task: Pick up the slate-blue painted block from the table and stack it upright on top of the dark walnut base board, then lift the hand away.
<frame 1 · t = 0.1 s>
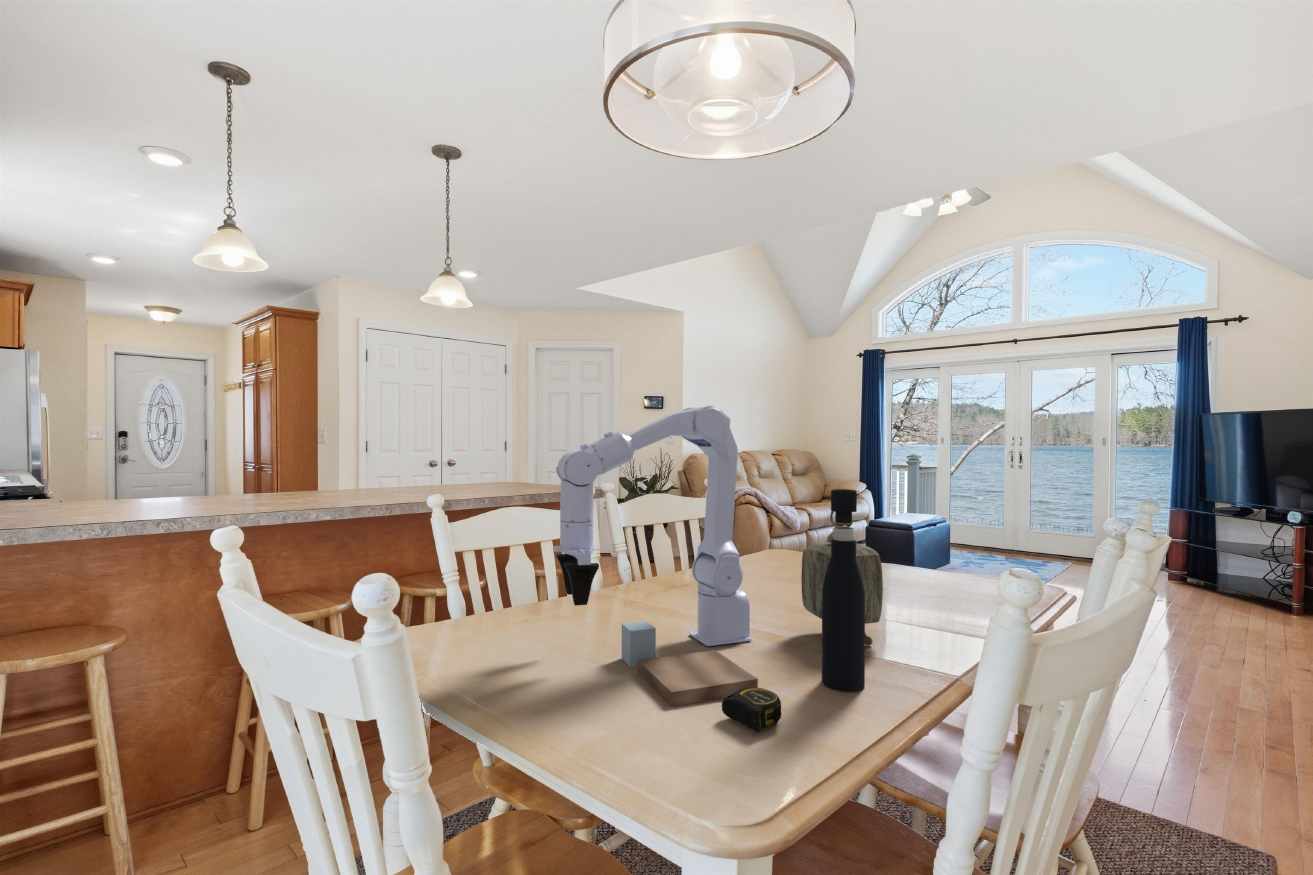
hand: (576, 599, 109), 10 cm above the table, fingers open, 7 cm apart
wine bottle: (843, 685, 98), on the table
tape measure: (753, 727, 84), on the table
slate block: (638, 661, 108), on the table
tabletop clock: (838, 639, 121), on the table
walnut base: (695, 681, 98), on the table
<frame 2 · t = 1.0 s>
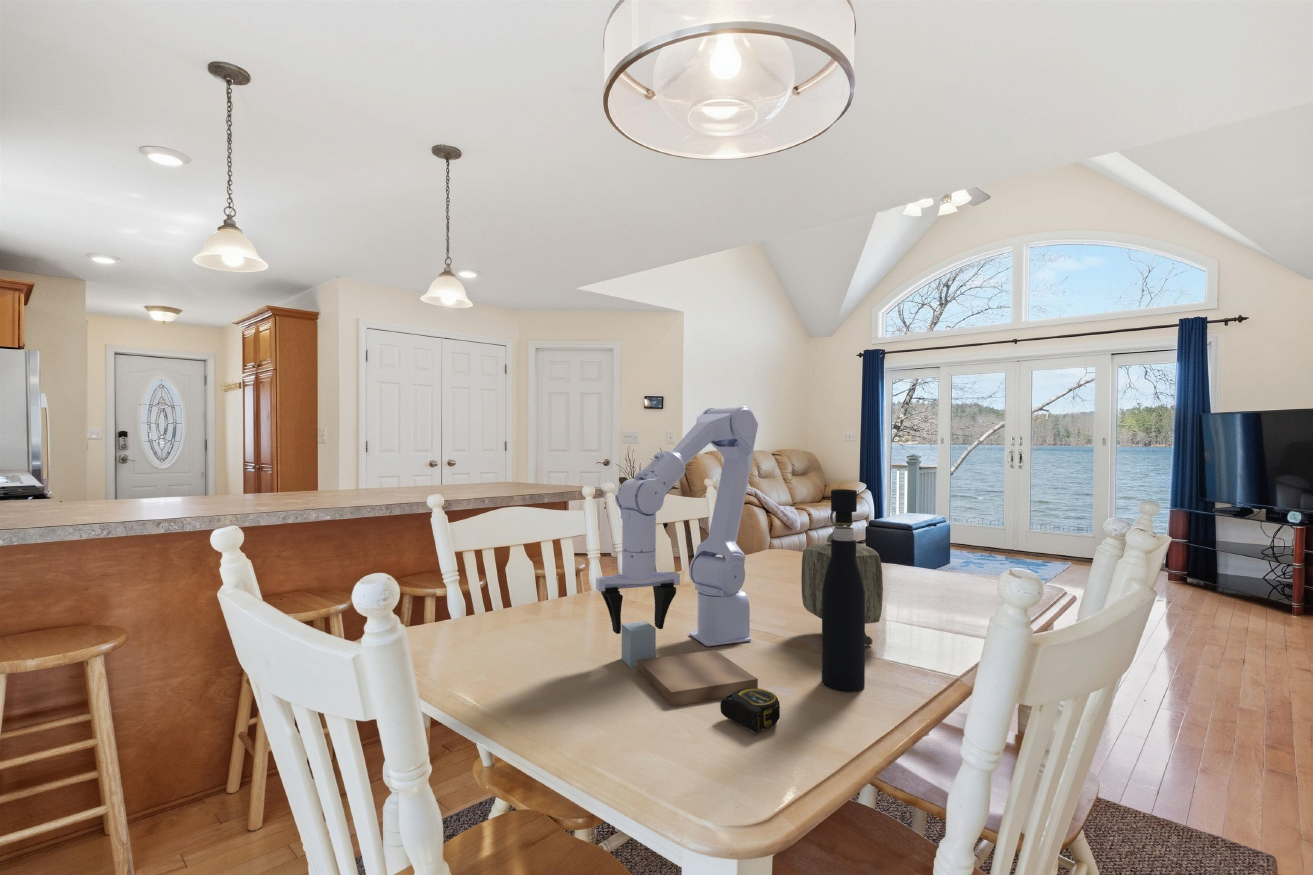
hand: (638, 629, 107), 5 cm above the table, fingers open, 7 cm apart
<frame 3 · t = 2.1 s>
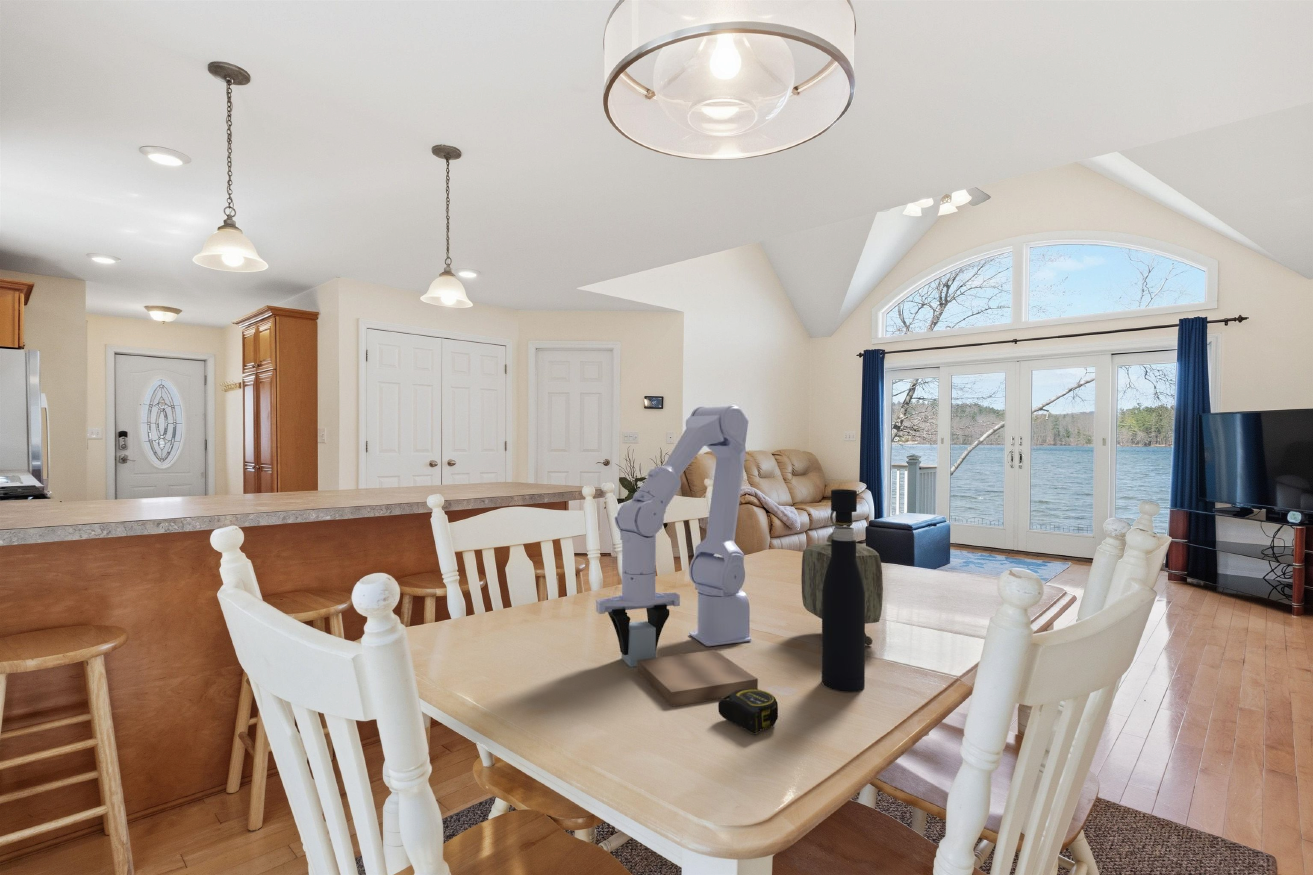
hand: (638, 651, 108), 2 cm above the table, fingers closed on slate block, 4 cm apart
slate block: (638, 660, 108), on the table, touching gripper
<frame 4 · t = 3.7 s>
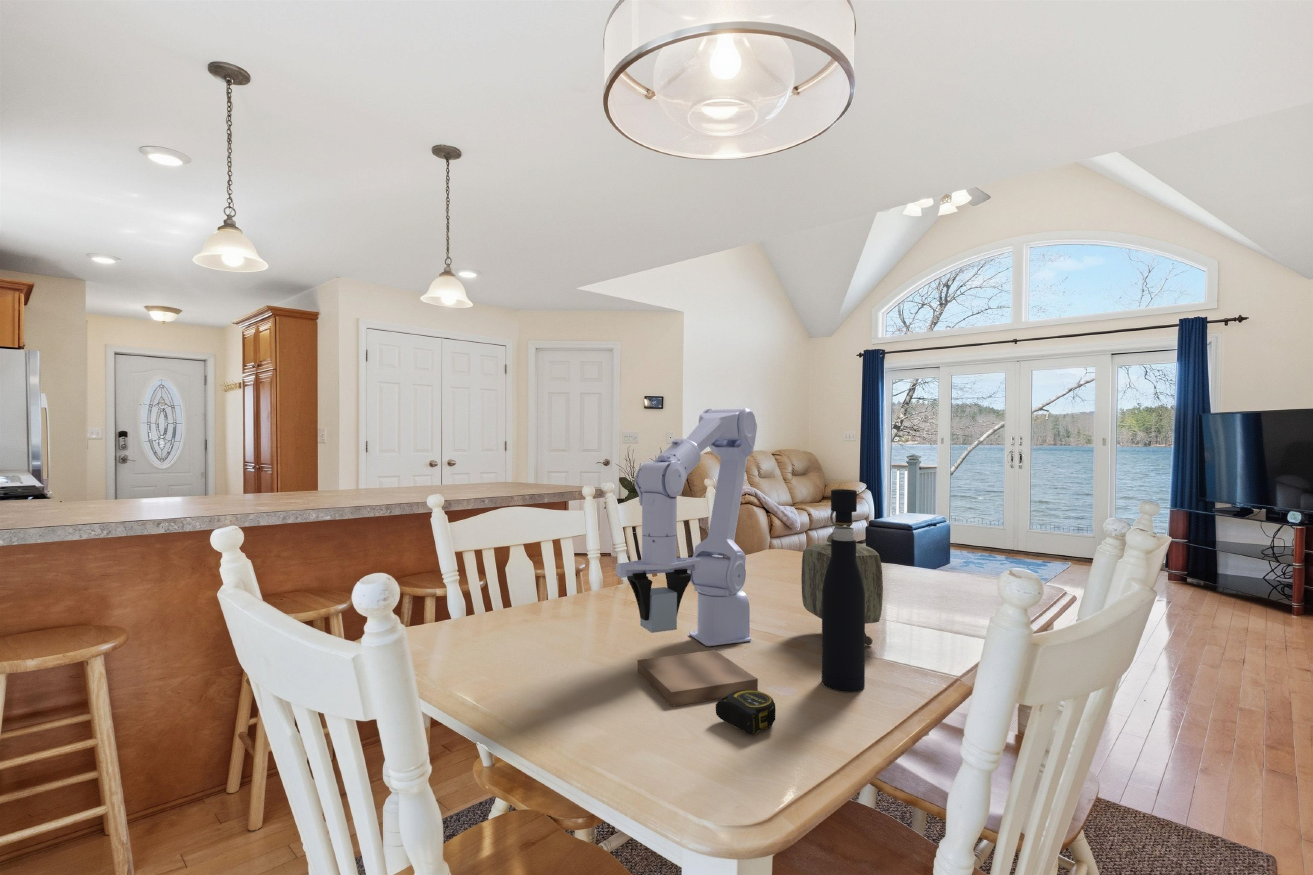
hand: (658, 617, 104), 8 cm above the table, fingers closed on slate block, 4 cm apart
slate block: (658, 627, 104), point 7 cm above the table, touching gripper
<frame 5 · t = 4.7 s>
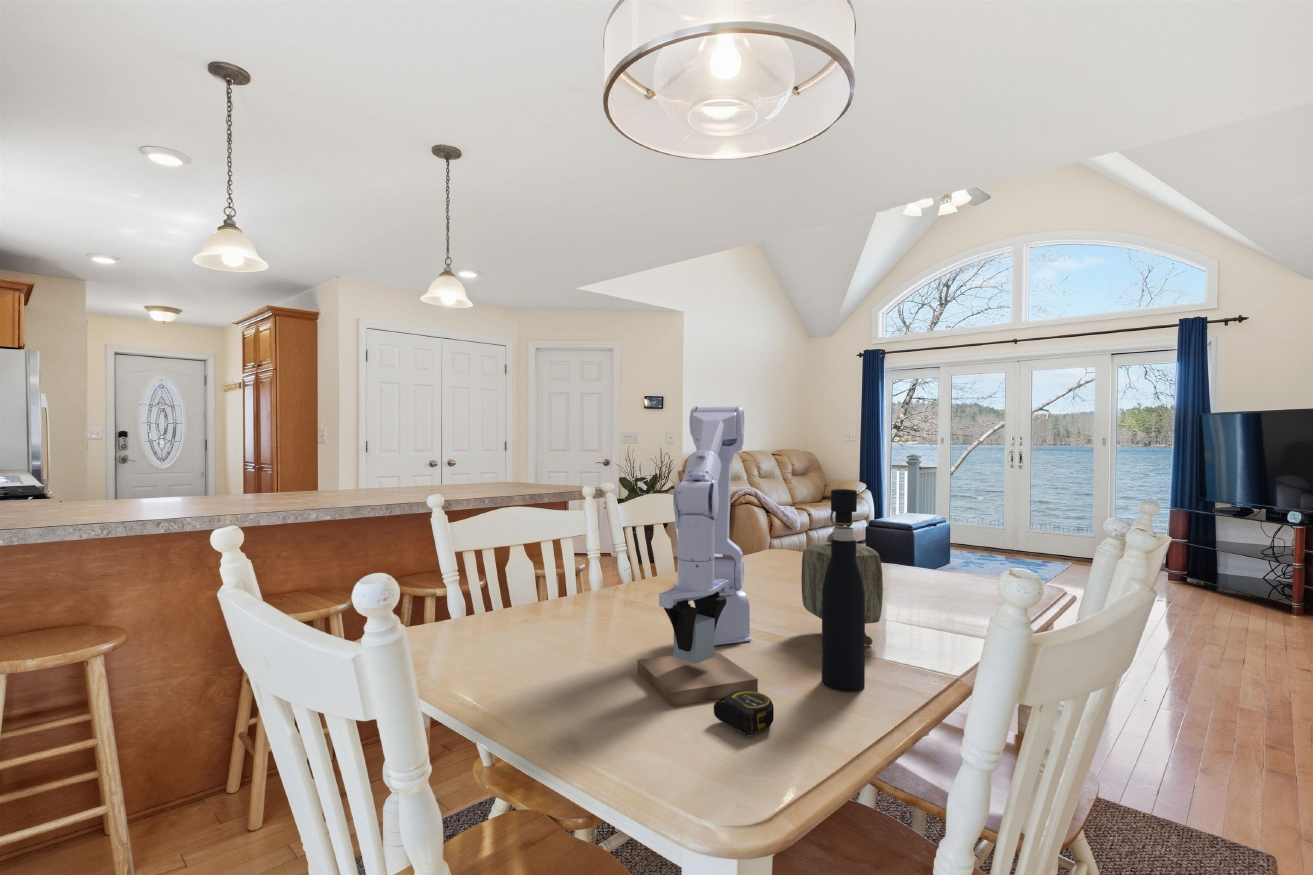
hand: (695, 645, 98), 6 cm above the table, fingers closed on slate block, 4 cm apart
slate block: (694, 656, 98), point 4 cm above the table, touching gripper
when the fingers open (5 cm above the table, at t = 5.3 s): slate block stays where it is, resting on walnut base.
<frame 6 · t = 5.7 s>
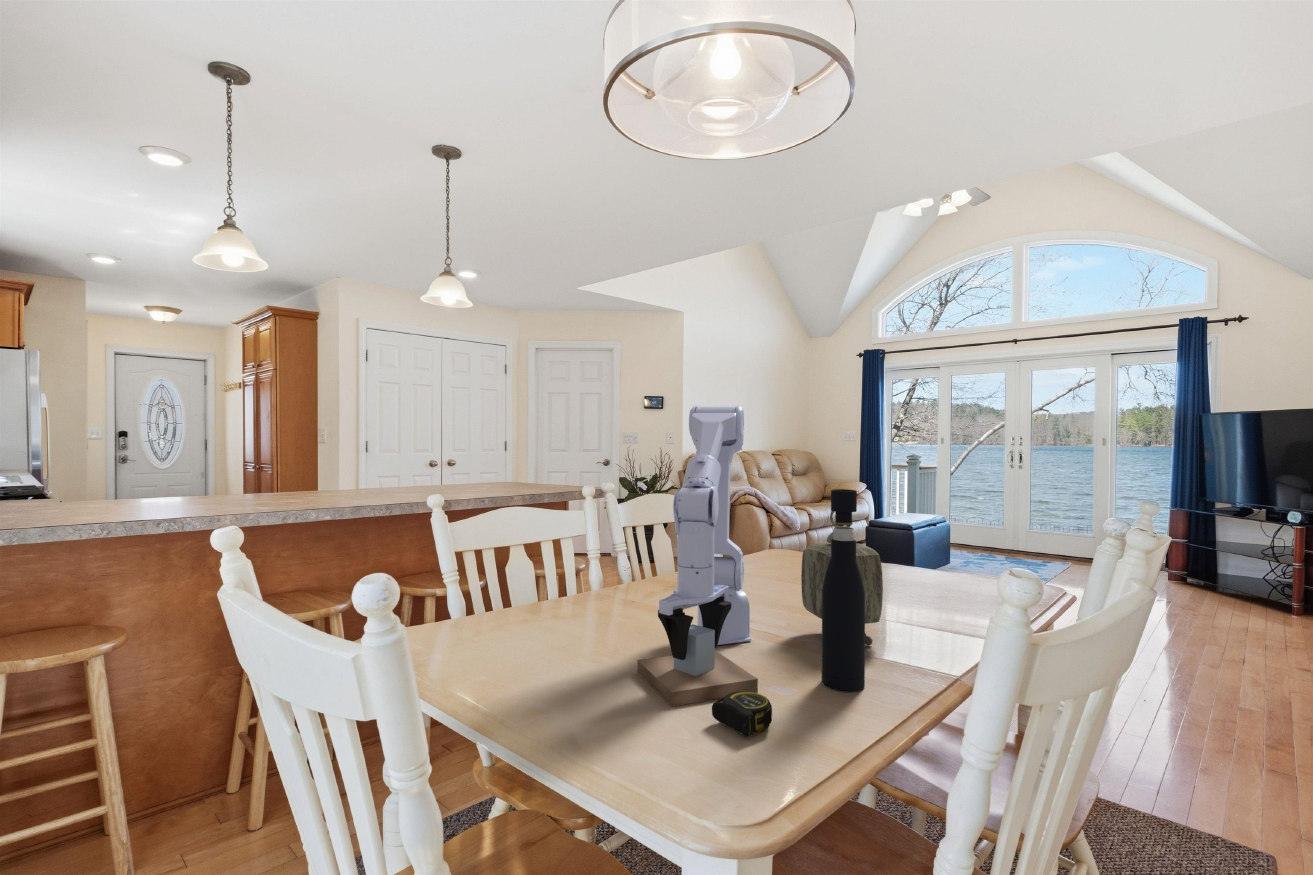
hand: (695, 652, 98), 5 cm above the table, fingers open, 7 cm apart
slate block: (694, 668, 98), point 2 cm above the table, touching walnut base
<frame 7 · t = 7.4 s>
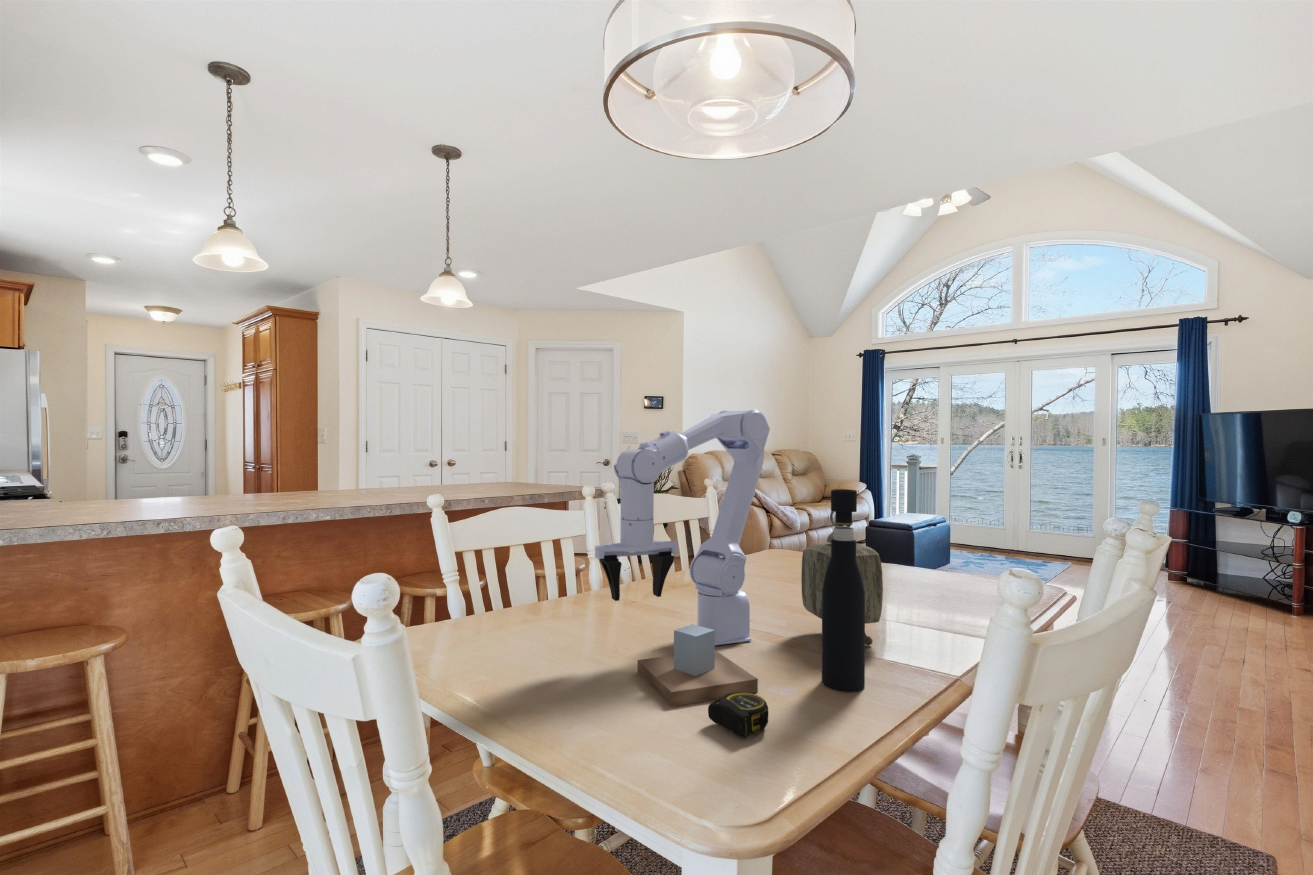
hand: (636, 597, 109), 10 cm above the table, fingers open, 7 cm apart
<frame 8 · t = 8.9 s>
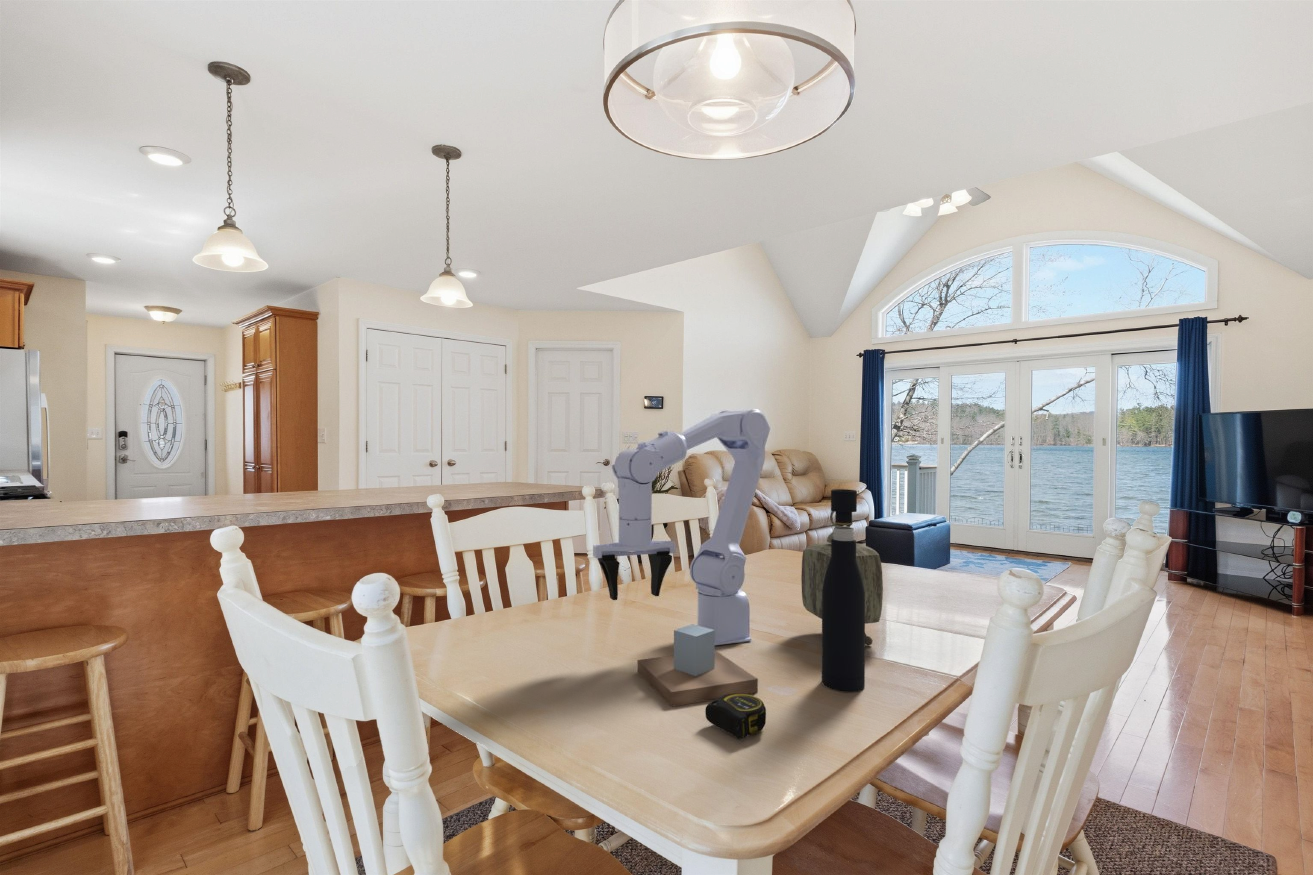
hand: (634, 596, 109), 10 cm above the table, fingers open, 7 cm apart
at the end: slate block inside the target area on the walnut base (0.2 cm from its centre), point 2.0 cm above the walnut base's base; slate block tilted 0°; the gripper is holding nothing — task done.
